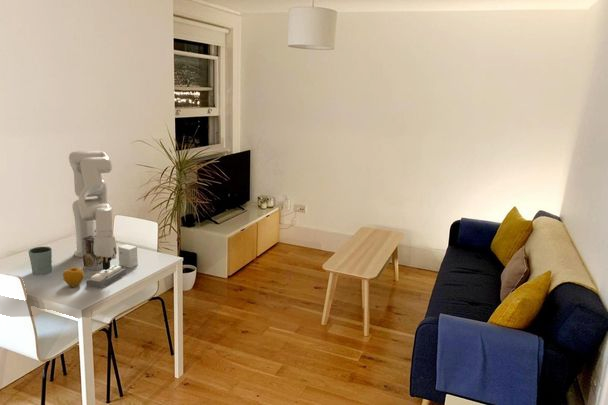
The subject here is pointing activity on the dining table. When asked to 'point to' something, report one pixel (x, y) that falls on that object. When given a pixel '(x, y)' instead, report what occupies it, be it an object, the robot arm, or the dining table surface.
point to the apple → (73, 276)
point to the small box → (128, 256)
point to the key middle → (107, 272)
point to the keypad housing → (106, 279)
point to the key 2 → (115, 268)
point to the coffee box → (90, 254)
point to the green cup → (41, 260)
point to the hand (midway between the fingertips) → (106, 268)
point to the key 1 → (98, 277)
